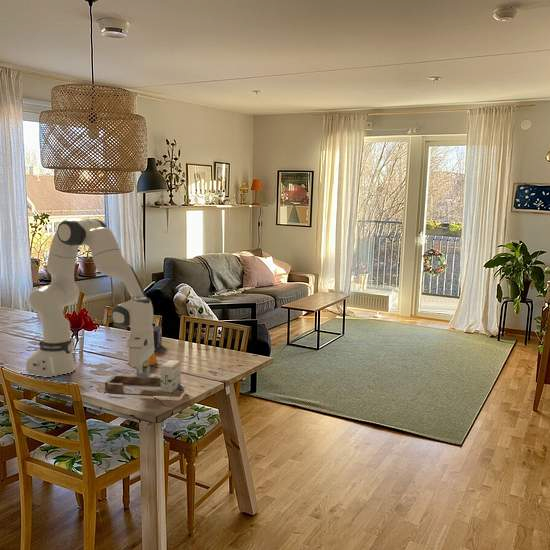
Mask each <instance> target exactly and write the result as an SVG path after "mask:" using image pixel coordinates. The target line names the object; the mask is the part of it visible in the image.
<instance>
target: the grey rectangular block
mask: <svg viewBox="0 0 550 550" xmlns="http://www.w3.org/2000/svg"><path fill="white" fill-rule="evenodd" d="M142 366H143V368H144V370H143V371H144V372H143V373H142V374H139V373H138V368H136V376H137V378H148V377H149V376H150V374H151V370H150V369H151V365H148V366H146V361H145V362H144V363H143V365H142Z"/></svg>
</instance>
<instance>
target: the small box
mask: <svg viewBox="0 0 550 550" xmlns="http://www.w3.org/2000/svg"><path fill="white" fill-rule="evenodd" d="M152 326H153V333H154V349H155V350H154V352H157V351H158V350H159V349H160V348H161V347H162V342H163V338H162V336H163V335H162V333H163V332H162V328H163V326H162V325H160V326H159V325H152Z"/></svg>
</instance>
